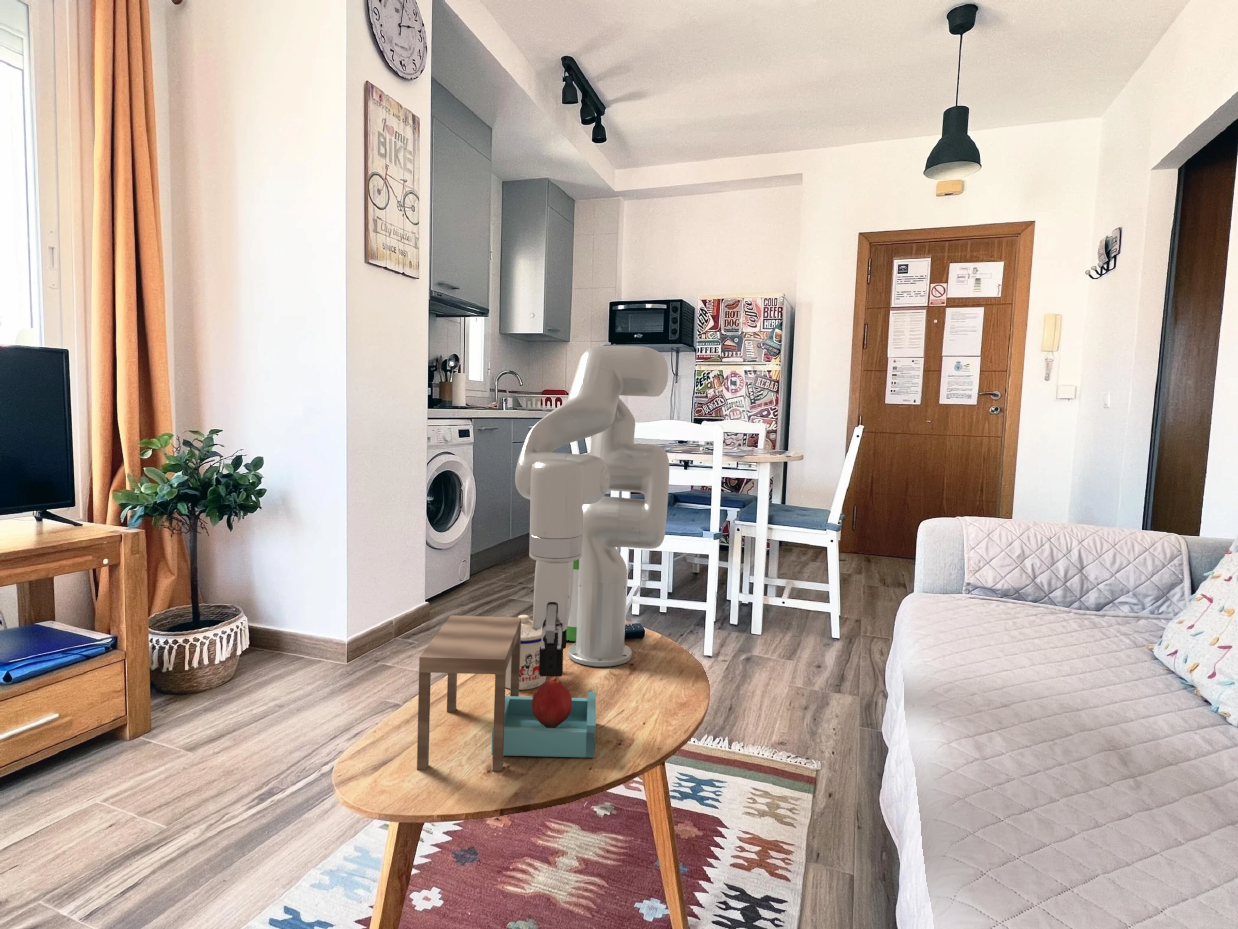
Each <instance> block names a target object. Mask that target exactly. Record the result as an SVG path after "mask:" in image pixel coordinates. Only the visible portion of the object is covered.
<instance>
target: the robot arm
mask: <svg viewBox="0 0 1238 929" xmlns="http://www.w3.org/2000/svg"><path fill="white" fill-rule="evenodd" d="M575 370H576V371H575V374H574V376H573V380H572V382H571V383H572V384H571V386H570V389H569V393H568V396H567V399H566V402H565V403H562V405H559V406H558V407H557V408H555V409H553V410H551V411H550V412H549V413H547V414H546V415H545V416H544V417H542V418H541V419H540V420H539V421H538V422H536V423H535V424H534V425H533V426H532V427H531V429H530V430H529V431H528V433H527V435H526V437H525V439H524V442H523V445H522V448H521V450H520V453H519V456H518V459H517V463H516V468H515V473H514V475H515V476H514V482H515V488H516V490H517V492H518V493H519V494H520V496H522V497H523V498H524V499H527V500H529V501H530V502H529V503H530V504H529V544H528V545H529V546H528V548H529V550H528V551H529V553H528V555H529V558H530V559H532V560H535V561H536V562H535V568H534V581H533V582H534V584H533V586H534V587H533V606H532V607H533V611H532V621H533V626H532V628H533V629H534V630H535V631H537V629H541V627H542V638H541V647H540V657H539V675H540V676H546V677H551V678H552V677H558V678H560V677H563V672H564V664H563V663H564V650H565V649H566V648H567V640H566V633H567V625H568V620H569V614H570V608H571V599H572V586H573V561H575V560H578V559H579V580H578V607H577V633H576V641H575V642H574V643H573V644H571V645H570V646H569V647H568V649H567V655H568V658H569V659H570V660H571V661H573V662H574V663H577V664H581V665H583V666H584V665H585V666H589V667H602V668H603V667H604V668H605V667H608V668H609V667H616V666H619V665H623V664H625V663H627V662H628V661H631V659H632V656H633V652H632V648H630V647H629V646H628V645H626V644H625V636H626V632H625V631H626V630H625V629H626V609H627V608H626V606H627V590H628V588H627V586H628V585H627V584H628V567H627V564H626V562H625V560H624V558H623V556H622V555H621V553H620V552H619V551H618V550H617V548H631V549H643V550H651V549H652V550H653V549H657V548H659V547H660V546H661V545H662V544H663V542H664V539H665V535H666V528H667V515H668V504H669V503H668V500H669V489H670V488H669V487H670V486H669V485H670V460H669V456H668V454H667V451H666V450H665V449H664V448H663V447H661V446H660V445H659V446H658V445H655V444H646V443H645V444H642V443H635V432H636V431H635V430H636V419H635V417H634V415H633V413H632V412H631V409H630V408H629V407H628V406H627V405H626V404H625V402H624V401H623V400H622V399H621V398H620V396H627V397H629V396H631V397H653V398H654V397H659V396H661V395H662V394H663V393H664V392H665V390H666V387H667V384H668V380H669V367H668V362H667V360H666V357H665V356H664V354H663V353H661V352H660V351H658V350H656V349H653V348H651V347H648V346H641V345H640V346H637V345H635V346H634V345H596V346H593V347H590V348H588V349H586V350H585V351H584V352H583V354H582V355H581V357H580V359H579V361H578V364H577V367H576V369H575ZM590 437H591V443H590V449H589V450H590V451H589V452H590V453H589V454H580V453H579V454H578V453H570V452H567V453H566V452H555V451H556V450H557V449H559V448H561V447H563V446H566V445H568V444H571V443H575V442H577V441H581V440H585V439H586V438H587V439H588V438H590ZM609 491H610V492H611V491H614V492H628V493H630V492H631V493H639V494H643V495H644V498H629V497H619V496H605V495H606V493H607V492H609Z"/></svg>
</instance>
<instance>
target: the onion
mask: <svg viewBox="0 0 1238 929" xmlns="http://www.w3.org/2000/svg"><path fill="white" fill-rule="evenodd" d="M532 697H533V699H532V710H533V714H534V716H535V718H536V719H537V720H538V721H539V722H540V723H541V724H542V725H543V726H545V727H546V728H556V727H557V726H558V725H560V724H561V723H562V722H563V721H564V720H566V719H567V718H568V716H569V715H570V713H571V709H572V698H573V697H572V695H571V692H570V691H569V689H568V688H567V687H566V686H565V685H564V684H563V683H562V682H560V681H559V677H551V678H550V679H548V680H547V681H545V682H544V683H543V684H542V685H540V686H538V689H537V690H536V691H535V693H533V696H532Z"/></svg>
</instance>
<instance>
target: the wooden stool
mask: <svg viewBox="0 0 1238 929" xmlns="http://www.w3.org/2000/svg"><path fill="white" fill-rule="evenodd" d="M520 643H521V618H518V616H517V617H514V616H513V617H511V616H509V617H507V616H484V615H483V616H480V615H479V616H477V615H475V616H474V615H450V616H449V617H448V619H446V621H445V623H444V624H443V625H442V627H440V629H439V631H437V633H436V634H435V636H434V637H433V638H432V640H431V641H430V642H429V644H428V645H427V646H426V648H425V649H424V650H423V652H422V653H421V654H420V656H419V657H418V699H417V700H418V703H417V708H418V709H417V741H416V742H417V746H416V747H417V750H416V751H417V752H416V758H417V759H416V770H418V769H419V770H421V771H424V770H426V771H427V770H428V767H429V762H430V761H429V760H430V724H431V722H430V720H431V718H430V715H431V714H430V713H431V712H430V711H431V679H432V678H431V676H432V675H431V674H432V673H435V674H436V673H437V674H447V681H446V682H447V686H446V687H447V688H446V690H447V692H446V694H447V695H446V696H447V697H446V713H455V712H456V710H457V697H458V696H457V691H458V689H457V685H458V674H464V675H465V674H470V675H472V674H473V675H494V677H495V678H494V700H493V702H494V704H493V705H494V706H493V707H494V708H493V727H494V734H493V755H492V767H491V770H492V772H503V767H504V755H503V748H504V716H505V696H506V688H505V683H506V669H507V667H508V664H509V661H510V658H511V689H509V690H510V695H509V696H520V690H519V674H520ZM511 656H512V657H511Z"/></svg>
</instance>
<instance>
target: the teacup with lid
mask: <svg viewBox="0 0 1238 929" xmlns="http://www.w3.org/2000/svg"><path fill="white" fill-rule="evenodd" d="M517 617H518V618H521V643H520V674H519V691H521V690H522V691H525V690H531V689H532V690H533V689H535V688H539V687H540V686H541V685H542V684H543V683H545V682H546V680H547V676H540V675H539V657H540V647H541V638H542V627H541V629H537V631H535V630H534V629H533V628H532V626H533V620H531V619H530V616H529V615H527V614H521V615H518V616H517ZM511 657H512V656H511ZM505 689H509V690H510V689H511V658H510V661H509V664H508V667H507V669H506V683H505Z"/></svg>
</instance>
